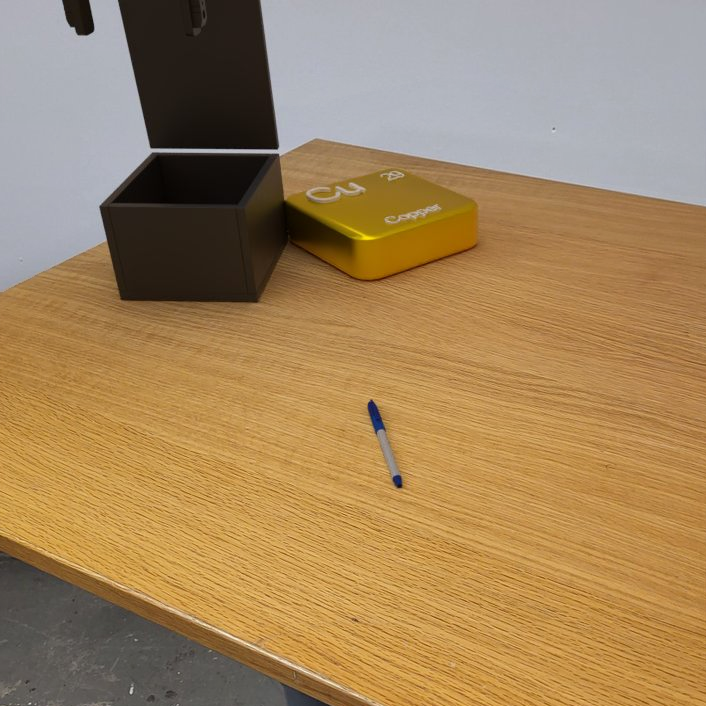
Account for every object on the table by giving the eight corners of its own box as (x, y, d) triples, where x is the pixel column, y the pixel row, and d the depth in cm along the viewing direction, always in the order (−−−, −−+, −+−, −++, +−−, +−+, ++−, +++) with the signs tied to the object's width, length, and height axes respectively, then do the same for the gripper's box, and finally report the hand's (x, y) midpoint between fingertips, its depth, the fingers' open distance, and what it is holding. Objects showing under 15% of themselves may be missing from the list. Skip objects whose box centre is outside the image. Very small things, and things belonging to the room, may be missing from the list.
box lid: (255, -25, 80) (267, -39, 84) (112, -25, 81) (130, -38, 85) (278, 150, 90) (288, 130, 94) (150, 148, 91) (165, 129, 95)
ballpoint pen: (363, 408, 70) (363, 397, 69) (375, 406, 70) (374, 395, 69) (395, 491, 62) (394, 479, 61) (408, 488, 62) (408, 476, 61)
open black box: (257, 302, 84) (244, 208, 79) (120, 300, 85) (98, 206, 79) (289, 238, 96) (279, 153, 91) (168, 237, 96) (152, 152, 91)
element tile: (364, 285, 87) (361, 236, 84) (281, 237, 96) (275, 192, 93) (486, 244, 94) (487, 198, 91) (398, 203, 104) (396, 160, 101)
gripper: (211, -221, 66) (240, 25, 76) (15, -221, 67) (68, 24, 76) (181, -223, 60) (217, 45, 70) (-35, -222, 61) (30, 44, 70)
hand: (139, 34), depth 73 cm, fingers open, 8 cm apart
